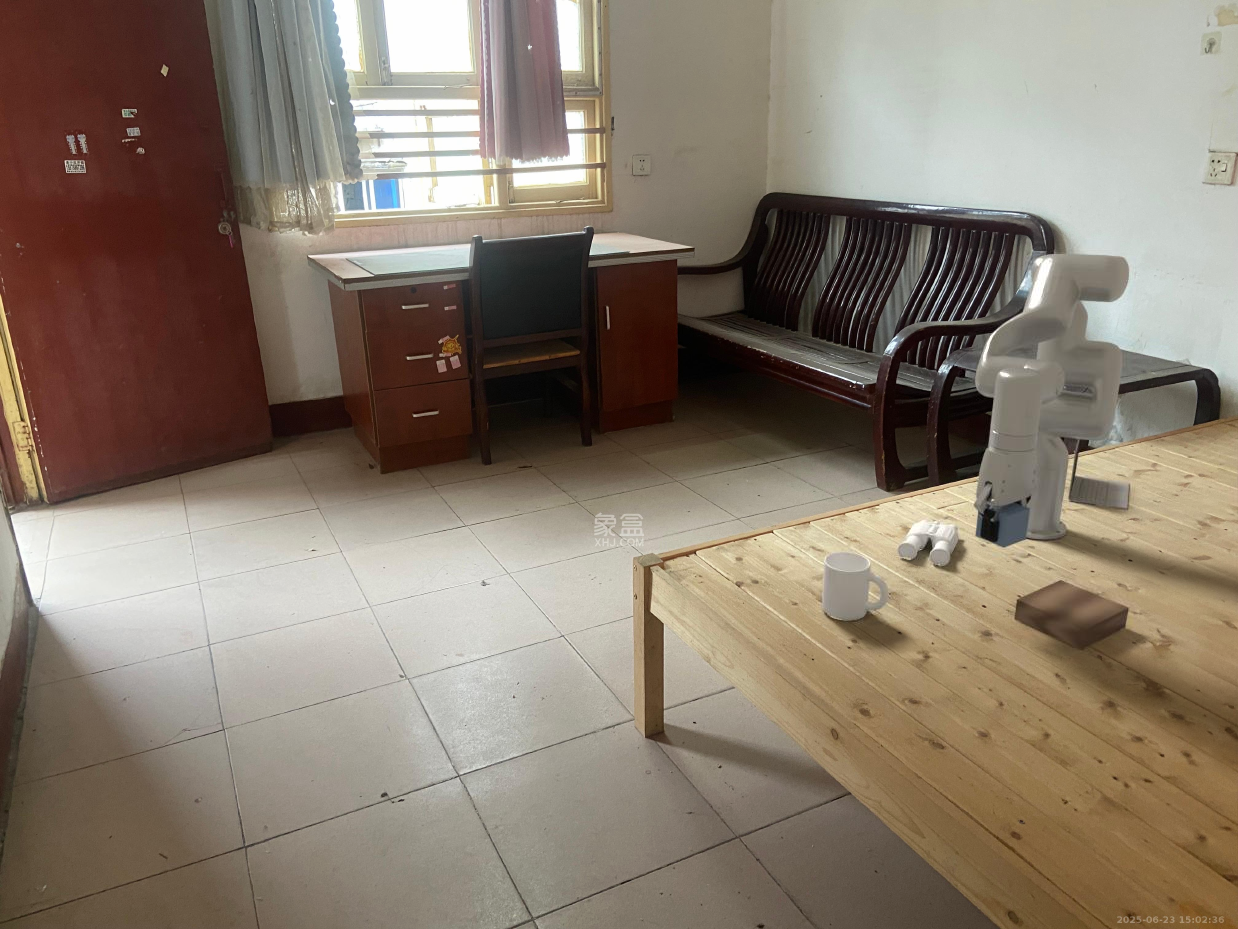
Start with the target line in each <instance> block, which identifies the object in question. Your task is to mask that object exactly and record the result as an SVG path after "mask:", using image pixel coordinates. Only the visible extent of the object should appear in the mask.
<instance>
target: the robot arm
mask: <svg viewBox="0 0 1238 929" xmlns="http://www.w3.org/2000/svg"><path fill="white" fill-rule="evenodd" d="M1030 270H1031V271H1030V273H1031V274H1030V277H1031V285H1030V289H1029V292H1028V294H1027V297H1026V301H1025V304H1024V306H1023V311H1022V312H1021V313H1019V314H1017V315H1015V316H1013V317H1012V318H1010V319H1009V320H1007V321H1006V322H1004V323H1002V324H1001V325H1000V326H999V327H997V329H995V330H994V331H993V332H992V333H991V334H990V336H989V337H988V339H987V340H986V343H985V344H984V346H983V350H982V353H981V356H980V358H979V360H978V364H977V368H976V371H975V378H974V379H975V381H974V382H975V387H976V389H977V391H978V393H979V394H981V395H982V396H984V397H987V398H993V404H992V412H991V420H990V428H989V429H990V430H989V438H988V447H987V448H986V449H985V452H984V454H983V456H982V461H981V464H980V469H979V473H978V479H977V485H976V492H975V495H976V496H975V498H976V499H975V501H974V503H973V507H974V508H975V509H976V511H977V513H978V512H979V514H980V517H981V518H982V524H981V532H980V536H981V537H982V538H984V539H986V540H989V541H991V542H997V539H998V531H999V521H997V519H998V516H999V514H1000V511H1001V508H1002V506H1004V505H1007V504H1010V503H1016V504H1019V505H1022V506H1024V507H1027V508H1030V513H1029V520H1028V528H1027V535H1026V539H1027V538H1028V539H1033V540H1055V539H1056V540H1057V539H1060V538H1062V537H1064V536H1065V535H1066V534H1067V529H1068V528H1067V527H1068V526H1067V525H1066V524H1065V523H1064V522H1063V521H1061V516H1062V508H1063V501H1064V494H1065V487H1066V480H1067V475H1068V469H1069V461H1070V456H1069V451H1068V448H1067V446H1066V444H1065V443H1064V441H1063V440H1062V438H1070V439H1077V440H1078V439H1081V440H1084V441H1085V440H1086V441H1097V442H1098V441H1103V440H1105V439H1107V438H1108V437H1109V435H1110V434H1111V432H1112V429H1113V425H1114V420H1115V414H1116V409H1117V404H1118V397H1119V396H1118V395H1119V391H1120V390H1119V389H1120V382H1121V379H1122V378H1121V377H1122V371H1123V352H1122V350H1121V348H1120V347H1119V346H1118V344H1115V343H1114V342H1113V343H1112V342H1108V341H1099V340H1091V339H1090V340H1089V339H1087V338H1086V334H1087V326H1088V322H1089V314H1088V312H1087V309H1086V307H1085V306H1084V304H1083V302H1098V303H1099V302H1100V303H1102V302H1103V303H1113V302H1115V301H1118V300H1119V299H1120V298H1121V297H1123V294H1124V293H1125V291H1126V290H1127V287H1128V283H1129V280H1130V266H1129V263H1128V261H1127V259H1126V258H1125V257H1123V256H1120V255H1119V256H1117V255H1116V256H1115V255H1108V254H1106V255H1105V254H1088V253H1087V254H1086V253H1085V254H1082V253H1081V254H1080V253H1052V254H1044V255H1039V256H1038V257H1037V258H1036V259H1035V260H1034V261H1033V262H1032V265H1031V269H1030ZM1031 345H1037V352H1036V358H1027V357H1017V356H1007V354H1008V353H1010V352H1013V351H1014V350H1017V349H1021V348H1024V347H1028V346H1031ZM1005 355H1006V356H1005ZM1065 386H1073V387H1083V388H1089V389H1090V390H1091V391H1092V393H1087V392H1086V393H1085V392H1075V391H1071V390H1070V391H1069V390H1064V388H1065ZM993 500H995V501H994V502H991V501H993ZM990 505H991V506H993V507H995V508H994V511H993V513H992V512H991V510H990V509H989V508H990ZM984 539H983V540H984ZM986 540H985V541H986ZM989 541H988V542H989ZM991 542H990V543H991Z"/></svg>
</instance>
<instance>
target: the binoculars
mask: <svg viewBox="0 0 1238 929" xmlns="http://www.w3.org/2000/svg"><path fill="white" fill-rule="evenodd" d="M958 528H959V527H958V526H957V525H955V524H953V523H951V524H948V525H947V524H944V523H941V521H939V520H934V521H929V520H927V519H922V520H920V522H916V523H914V524H913V525H912V526H911V528H910V529H909V531H908V532H907V534H906V536H905V538H904V541H903V542H902V541H901V543H900V544H899V545H898V546H897V554H898V556H899V557H900V558H901V557H907V558H911V559H912V560H914V559H915V558H916V557H917V554H918V552H919V551H918V550H919V549H922V550H923V549H925V547H926V545H927V543H928V542H929V540H931V546H932V550H930V553H929V556H928V557H929V561H930V562H931V564H933V565H934V564H935V565H934V566H936V565H938V564H940V565H942V566H941V567H944V566H946V565H948V564H949V562H950V560H951V555H952V553H953V552H954V549H955V548H956V545H957V544H958V541H959V538H960V537H959V533H958V532H959V529H958Z"/></svg>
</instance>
